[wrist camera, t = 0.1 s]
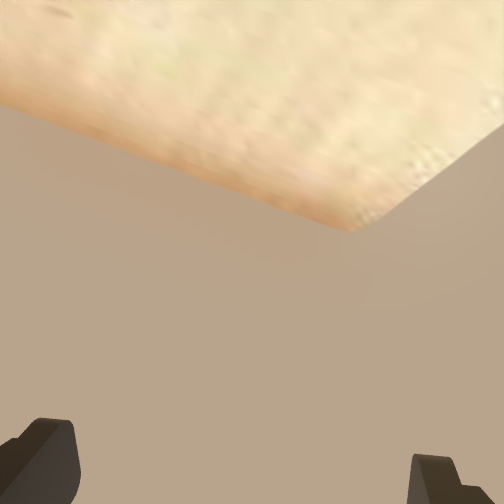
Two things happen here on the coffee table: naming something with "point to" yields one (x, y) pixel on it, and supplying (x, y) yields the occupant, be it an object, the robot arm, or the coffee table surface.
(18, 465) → the robot arm
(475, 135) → the coffee table surface
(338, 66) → the coffee table surface
